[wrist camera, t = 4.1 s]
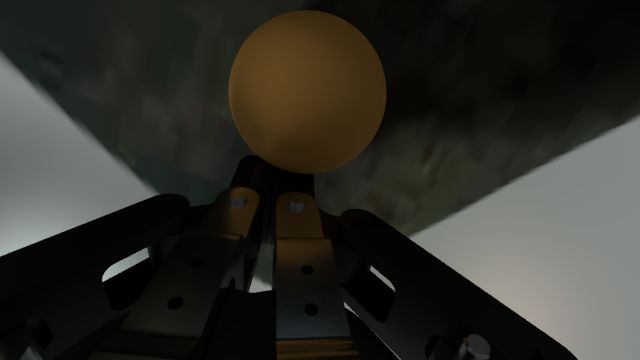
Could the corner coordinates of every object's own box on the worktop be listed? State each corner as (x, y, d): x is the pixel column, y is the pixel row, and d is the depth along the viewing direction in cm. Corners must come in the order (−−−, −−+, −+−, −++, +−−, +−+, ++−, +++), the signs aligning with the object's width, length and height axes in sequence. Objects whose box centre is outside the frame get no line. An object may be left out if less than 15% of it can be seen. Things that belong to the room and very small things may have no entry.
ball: (242, 150, 13) (209, 189, 8) (245, 18, 11) (206, -28, 7) (358, 159, 13) (392, 201, 9) (375, 34, 12) (428, 2, 7)
